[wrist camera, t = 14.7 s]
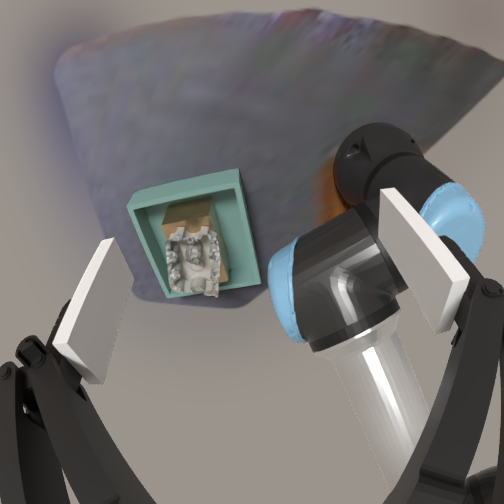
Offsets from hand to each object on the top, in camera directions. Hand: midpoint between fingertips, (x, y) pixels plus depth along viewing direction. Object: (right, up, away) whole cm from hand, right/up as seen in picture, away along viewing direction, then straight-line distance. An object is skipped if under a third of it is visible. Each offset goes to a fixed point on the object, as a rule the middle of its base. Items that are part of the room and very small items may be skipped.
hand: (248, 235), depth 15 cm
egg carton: (-8, -1, +32) cm, 33 cm away
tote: (-8, +3, +37) cm, 38 cm away
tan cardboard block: (-8, +2, +36) cm, 37 cm away
